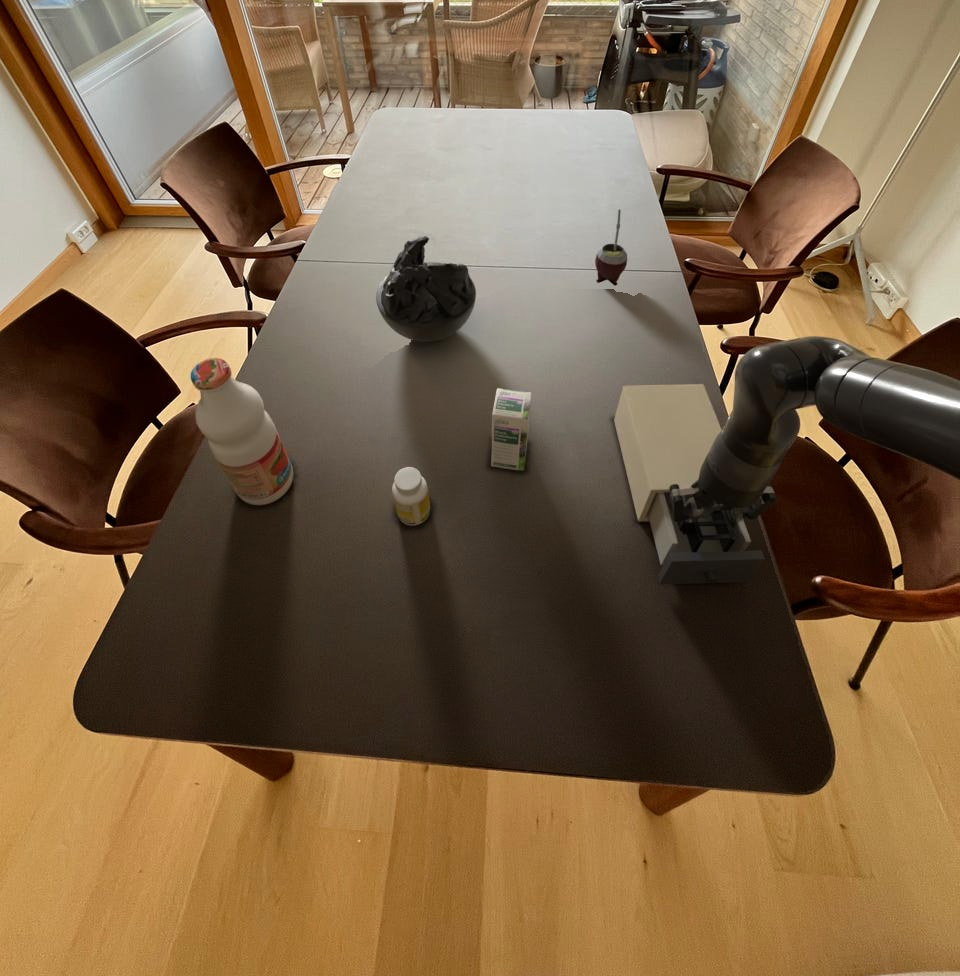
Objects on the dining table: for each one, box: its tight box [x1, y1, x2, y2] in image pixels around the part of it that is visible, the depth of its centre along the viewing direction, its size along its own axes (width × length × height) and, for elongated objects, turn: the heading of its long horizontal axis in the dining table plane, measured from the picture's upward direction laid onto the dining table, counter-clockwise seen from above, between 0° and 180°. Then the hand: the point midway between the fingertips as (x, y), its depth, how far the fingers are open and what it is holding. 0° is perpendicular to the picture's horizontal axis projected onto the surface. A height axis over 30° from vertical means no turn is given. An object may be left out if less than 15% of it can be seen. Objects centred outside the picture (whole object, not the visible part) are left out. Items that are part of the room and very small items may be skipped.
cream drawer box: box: [613, 383, 723, 523], centre depth 94 cm, size 20×14×10 cm
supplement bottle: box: [391, 466, 431, 526], centre depth 88 cm, size 5×5×10 cm
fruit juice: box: [190, 357, 294, 506], centre depth 85 cm, size 9×9×28 cm
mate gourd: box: [594, 209, 628, 286], centre depth 128 cm, size 8×8×15 cm
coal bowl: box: [375, 235, 477, 343], centre depth 114 cm, size 20×20×19 cm
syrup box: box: [490, 387, 533, 472], centre depth 94 cm, size 6×6×14 cm
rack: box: [687, 508, 736, 553], centre depth 81 cm, size 5×7×4 cm
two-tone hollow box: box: [647, 492, 765, 585], centre depth 86 cm, size 20×13×8 cm, turn 2°
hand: (702, 527), depth 82 cm, fingers closed on rack, 5 cm apart
